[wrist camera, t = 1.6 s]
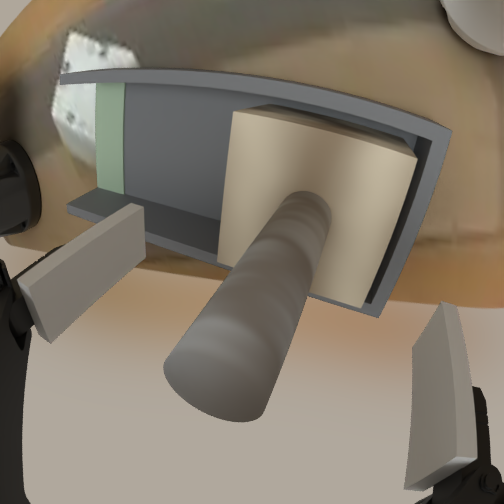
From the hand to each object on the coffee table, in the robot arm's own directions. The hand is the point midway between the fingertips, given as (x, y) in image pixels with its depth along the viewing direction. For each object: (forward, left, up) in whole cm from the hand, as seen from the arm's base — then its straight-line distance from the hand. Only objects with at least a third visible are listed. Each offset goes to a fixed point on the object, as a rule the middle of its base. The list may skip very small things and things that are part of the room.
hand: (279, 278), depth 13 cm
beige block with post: (0, 0, -13) cm, 13 cm away
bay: (-8, 0, -14) cm, 16 cm away
